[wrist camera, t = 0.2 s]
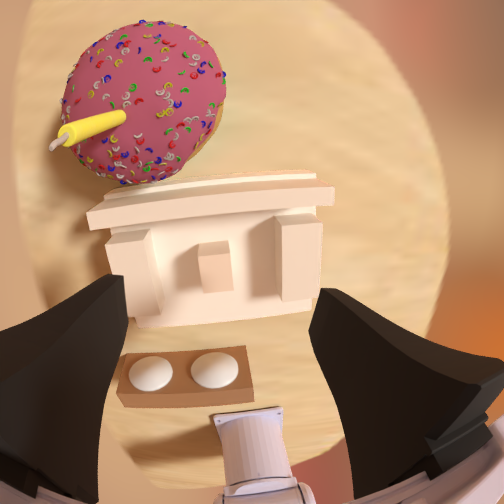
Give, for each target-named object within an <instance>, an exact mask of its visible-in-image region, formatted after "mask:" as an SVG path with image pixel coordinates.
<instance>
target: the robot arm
mask: <svg viewBox="0 0 504 504" xmlns="http://www.w3.org/2000/svg"><path fill="white" fill-rule="evenodd" d="M127 327H128V314H127V306H126V297H125V286H124V275H114V274H107V275H105V276H103V277H101V278H99V279H98V280H96V281H94V282H93V283H91V284H90V285H88V286H87V287H85V288H83V289H82V290H80V291H79V292H77V293H76V294H74V295H73V296H71V297H69V298H68V299H66V300H64V301H63V302H61V303H59V304H58V305H56V306H54V307H53V308H51V309H49V310H47V311H46V312H44V313H42V314H40V315H38V316H36V317H34V318H32V319H30V320H28V321H26V322H23V323H21V324H18V325H16V326H13V327H10V328H8V329H5V330H3V331H0V504H96V503H97V502H98V501H99V499H98V475H97V473H98V471H97V470H98V448H99V437H100V428H101V421H102V415H103V409H104V403H105V399H106V395H107V392H108V388H109V385H110V382H111V379H112V376H113V373H114V371H115V368H116V365H117V362H118V359H119V356H120V353H121V351H122V348H123V345H124V340H125V336H126V332H127ZM308 331H309V335H310V339H311V343H312V347H313V350H314V353H315V356H316V358H317V361H318V363H319V365H320V367H321V370H322V372H323V374H324V377H325V379H326V381H327V383H328V386H329V388H330V390H331V392H332V395H333V397H334V400H335V402H336V405H337V408H338V412H339V415H340V419H341V422H342V426H343V430H344V434H345V438H346V443H347V447H348V452H349V458H350V464H351V471H352V480H353V491H354V499H355V500H353V501H350V502H347V503H343V504H496V503H497V502H498V501H499V499H500V498H501V496H502V495H503V493H504V414H503V415H502V416H500V417H499V418H498V419H497V420H495V421H494V422H493V423H492V424H491V425H490V426H489V427H487V426H486V425H485V423H484V422H486V421H487V420H488V416H487V414H486V413H485V411H486V410H487V409H488V407H489V406H490V405H491V404H492V402H493V401H494V400H495V399H496V397H497V396H498V395H499V394H500V393H501V391H502V390H503V388H504V362H503V361H502V360H500V359H498V358H491V357H485V356H478V355H473V354H469V353H465V352H461V351H457V350H454V349H451V348H447V347H445V346H442V345H439V344H437V343H434V342H431V341H429V340H427V339H424V338H422V337H420V336H418V335H416V334H414V333H411V332H409V331H407V330H405V329H403V328H402V327H400V326H398V325H396V324H394V323H393V322H391V321H389V320H387V319H386V318H384V317H382V316H381V315H379V314H378V313H376V312H374V311H373V310H371V309H370V308H368V307H366V306H365V305H363V304H362V303H360V302H359V301H357V300H355V299H354V298H352V297H351V296H349V295H347V294H345V293H344V292H342V291H340V290H338V289H335V288H321V290H320V294H319V297H318V301H317V304H316V308H315V311H314V314H313V317H312V321H311V324H310V327H309V330H308ZM213 420H214V423H215V426H216V429H217V432H218V435H219V438H220V440H221V443H222V449H223V459H224V469H225V478H226V487H223V489H224V493H223V494H218V496H217V497H216V498H215V499H214V503H213V504H316V502H315V499H314V496H313V493H312V491H311V488H310V487H309V486H308V485H306V484H304V483H303V482H300V483H297V481H296V477H292V473H291V469H290V465H289V461H288V457H287V453H286V449H285V445H284V441H283V437H282V424H283V408H282V407H275V408H269V409H262V410H255V411H248V412H239V413H230V414H218V415H214V416H213Z"/></svg>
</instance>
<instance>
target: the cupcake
mask: <svg viewBox="0 0 504 504" xmlns="http://www.w3.org/2000/svg"><path fill="white" fill-rule="evenodd" d="M141 21H143V22H141ZM186 27H187V26H180V25H177V24H173V23H170V22H163V21H157V22H146V21H145V20H140V21H139V23H136V24H132V25H128V26H124V27H122V28H119V29H115V30H113V32H111V33H109V34H107V35H106V36H104V37H103V38H101V39H100V40H98V41H97V42H95V43H94V44H93V45H91V46H90V47H89V48H88V49H87V50H85V52H84V53H83V54H82V55H81V56H80V59H79V61H78V62H77V63H76V64H74V65H73V66H75V65H76V66H75V68H74V69H73V71H72V72H71V73H70V74H69V75H68V81H67V86H66V89H65V93H64V97H63V99H62V98H61V99H60V103H61V104H62V115H61V119H62V123H63V126H62V127H61V128H60V130H59V132H58V138H57V139H55V140H54V141H52V142H51V144H50V145H49V150H50V151H53V150H54V149H55V148H56V147H57V146H60V145H62V146H64V147H68V148H69V147H70V148H71V149H72V151H73V153H74V154H75V156H76V157H77V158H78V159H79V160H80V162H81V163H82V164H83V165H84V166H86V167H87V168H88V169H91V170H92V171H94V172H96V174H97V175H98V176H102V177H107V178H110V179H113V180H118V181H120V183H121V184H126V183H131V184H132V183H151V184H155V183H157V181H160V180H163V179H166V178H168V177H170V176H172V175H174V174H176V173H177V172H179V171H180V170H181V169H182V167H183V166H184V164H185V162H187V161H188V160H190V159H191V158H192V157H194V156H195V155H196V154H197V153H198V152H199V151H200V150H201V149H202V147H203V146H204V145H205V144H206V142H207V141H208V140H209V139H210V138H211V136H212V135H213V134H214V132H215V131H216V129H217V127H218V125H219V123H220V120H221V117H222V112H223V105H224V99H225V97H226V81H225V76H226V73H225V72H223V70H222V67H221V63H220V61H219V59H218V57H217V55H216V53H215V51H214V50H213V48H212V47H211V46H210V45H209V44H208V43H209V42H207V41H205V40H203V39H201V38H200V37H199V36H198V35H196V34H195V33H194V32H192V31H191V30H189V29H187V28H186ZM62 100H63V101H62ZM61 101H62V102H61ZM122 182H125V183H122ZM153 182H154V183H153Z"/></svg>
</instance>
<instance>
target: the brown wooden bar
mask: <svg viewBox="0 0 504 504" xmlns="http://www.w3.org/2000/svg"><path fill="white" fill-rule="evenodd" d="M116 394H117V396H118V397H119V399H120V401H121V402H122V404H123V405H124V407H130V408H188V407H207V406H220V405H230V404H240V403H248V402H254V392H253V384H252V379H251V373H250V368H249V362H248V356H247V351H246V345H245V346H236V347H227V348H217V349H206V350H194V351H179V352H161V353H127V355H126V358H125V362H124V365H123V369H122V372H121V376H120V380H119V384H118V388H117V391H116Z"/></svg>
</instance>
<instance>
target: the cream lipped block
mask: <svg viewBox="0 0 504 504" xmlns="http://www.w3.org/2000/svg"><path fill="white" fill-rule="evenodd" d="M153 183H154V182H153ZM334 193H335V187H334V186H332V185H330V184H328V183H326V182H324V181H321V180H319V179H317V178H316V173H314V172H312V171H309V170H307V169H296V170H274V171H257V172H243V173H230V174H219V175H209V176H200V177H191V178H183V179H175V180H167V181H160V182H157V183H155V184H151V183H146V184H140V185H134V186H128V187H122V188H116V189H113V190H111V191H110V192H108V193H106V194H105V195H104V201H102V202H101V203H99V204H98V205H96V206H95V207H93V208H92V209H90V210H89V211H88V212H86V215H87V220H88V224H89V229H90V230H97V229H103V228H110V231H111V235H112V237H111V238H110V239H109V241H108V242H107V243H106V244H105V249H106V253H107V257H108V260H109V264H110V268H111V271H112V274H114V275H124V286H125V297H126V306H127V314H128V317H135V320H136V323H137V326H138V328H154V327H170V326H183V325H196V324H207V323H217V322H227V321H236V320H244V319H253V318H261V317H268V316H276V315H283V314H290V313H296V312H303V311H309V310H311V306H312V298H317V297H319V285H320V271H321V254H322V233H323V222H322V221H321V220H319V219H318V218H317V217H316V206H328V205H334Z"/></svg>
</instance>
